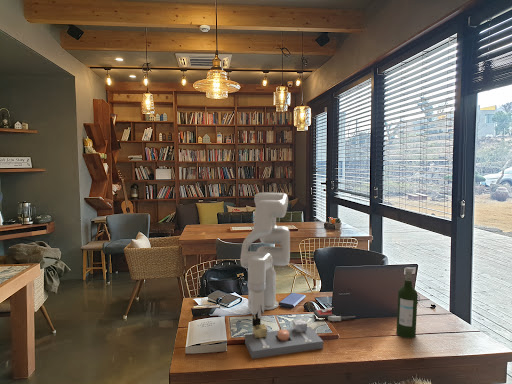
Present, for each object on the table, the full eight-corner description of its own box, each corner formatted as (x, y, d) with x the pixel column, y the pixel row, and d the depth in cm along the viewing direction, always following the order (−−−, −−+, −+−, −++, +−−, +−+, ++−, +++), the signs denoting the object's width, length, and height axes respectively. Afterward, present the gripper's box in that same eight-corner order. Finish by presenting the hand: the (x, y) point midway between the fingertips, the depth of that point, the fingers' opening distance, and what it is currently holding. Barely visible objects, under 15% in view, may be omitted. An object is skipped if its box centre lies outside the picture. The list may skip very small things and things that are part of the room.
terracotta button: (275, 336, 145) (275, 330, 144) (286, 335, 146) (286, 328, 146) (279, 342, 140) (279, 335, 140) (290, 340, 141) (290, 334, 141)
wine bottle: (413, 331, 156) (416, 266, 153) (417, 339, 148) (420, 271, 146) (395, 328, 158) (397, 264, 155) (397, 337, 150) (400, 270, 148)
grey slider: (292, 328, 150) (292, 320, 150) (303, 326, 152) (303, 319, 151) (296, 332, 146) (296, 324, 146) (306, 331, 148) (307, 323, 148)
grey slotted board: (244, 341, 145) (244, 334, 145) (309, 333, 153) (310, 326, 153) (252, 358, 133) (252, 350, 133) (323, 348, 141) (323, 340, 141)
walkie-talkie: (316, 323, 163) (356, 320, 166) (317, 314, 163) (356, 311, 166) (310, 315, 172) (348, 312, 175) (311, 306, 172) (349, 304, 175)
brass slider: (252, 333, 146) (252, 325, 145) (264, 331, 147) (264, 324, 147) (255, 338, 142) (255, 329, 141) (266, 336, 143) (266, 328, 143)
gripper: (244, 280, 154) (244, 320, 155) (252, 292, 139) (252, 336, 141) (260, 279, 156) (260, 318, 157) (270, 290, 141) (269, 334, 143)
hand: (256, 326), depth 149 cm, fingers closed
